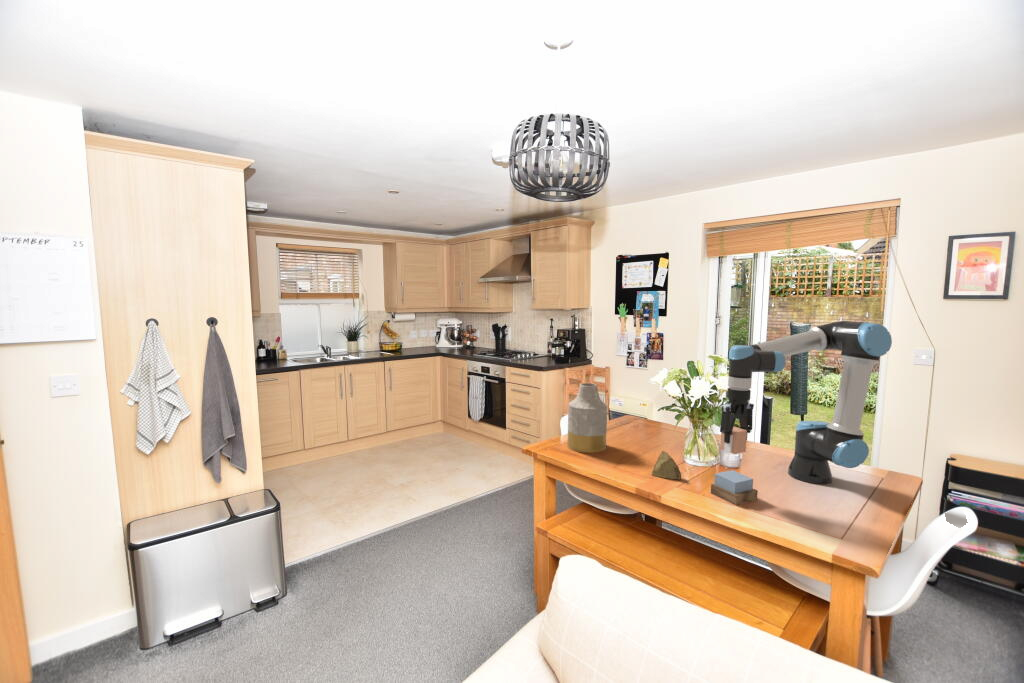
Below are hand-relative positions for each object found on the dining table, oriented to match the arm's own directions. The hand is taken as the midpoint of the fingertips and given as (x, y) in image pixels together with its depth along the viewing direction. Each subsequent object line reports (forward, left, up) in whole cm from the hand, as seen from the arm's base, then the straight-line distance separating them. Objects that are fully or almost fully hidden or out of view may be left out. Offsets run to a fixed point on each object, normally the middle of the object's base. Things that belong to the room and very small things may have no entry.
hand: (734, 450), depth 170 cm
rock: (+10, -23, -18) cm, 31 cm away
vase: (+20, -67, -18) cm, 72 cm away
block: (0, -1, 0) cm, 1 cm away
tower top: (0, 0, -14) cm, 14 cm away
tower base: (0, +1, -18) cm, 18 cm away
